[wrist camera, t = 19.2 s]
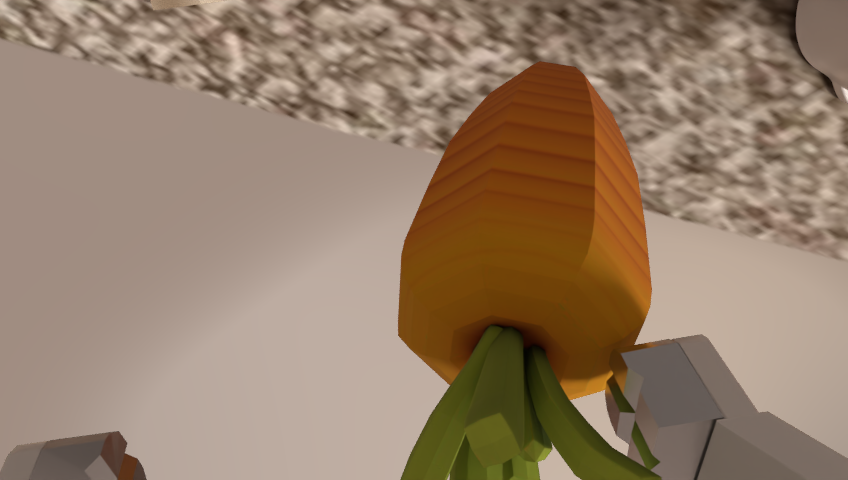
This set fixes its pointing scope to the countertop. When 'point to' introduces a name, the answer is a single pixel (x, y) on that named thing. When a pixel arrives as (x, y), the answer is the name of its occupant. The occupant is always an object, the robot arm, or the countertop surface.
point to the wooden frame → (178, 3)
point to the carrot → (525, 282)
